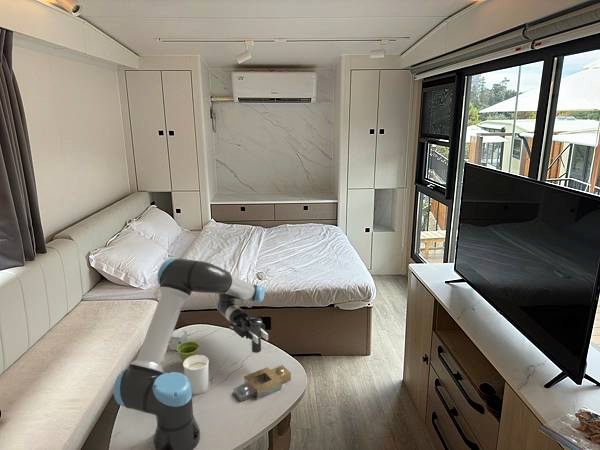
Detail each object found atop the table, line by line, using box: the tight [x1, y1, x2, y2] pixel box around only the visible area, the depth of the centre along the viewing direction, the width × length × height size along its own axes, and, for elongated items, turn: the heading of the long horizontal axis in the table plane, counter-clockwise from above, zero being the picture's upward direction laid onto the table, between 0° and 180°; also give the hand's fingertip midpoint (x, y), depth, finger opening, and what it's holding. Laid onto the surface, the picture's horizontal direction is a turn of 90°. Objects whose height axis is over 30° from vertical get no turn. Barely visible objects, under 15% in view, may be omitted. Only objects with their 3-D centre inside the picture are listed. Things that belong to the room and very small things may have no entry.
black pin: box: [249, 317, 263, 354], centre depth 177 cm, size 5×5×14 cm
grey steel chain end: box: [232, 377, 282, 403], centre depth 167 cm, size 17×11×3 cm, turn 125°
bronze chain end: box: [243, 364, 292, 395], centre depth 170 cm, size 17×11×4 cm, turn 125°
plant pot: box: [176, 340, 200, 366], centre depth 182 cm, size 9×9×9 cm
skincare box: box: [169, 329, 189, 351], centre depth 195 cm, size 6×6×7 cm
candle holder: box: [182, 354, 209, 396], centre depth 166 cm, size 10×10×12 cm
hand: (262, 338), depth 172 cm, fingers closed on black pin, 4 cm apart
